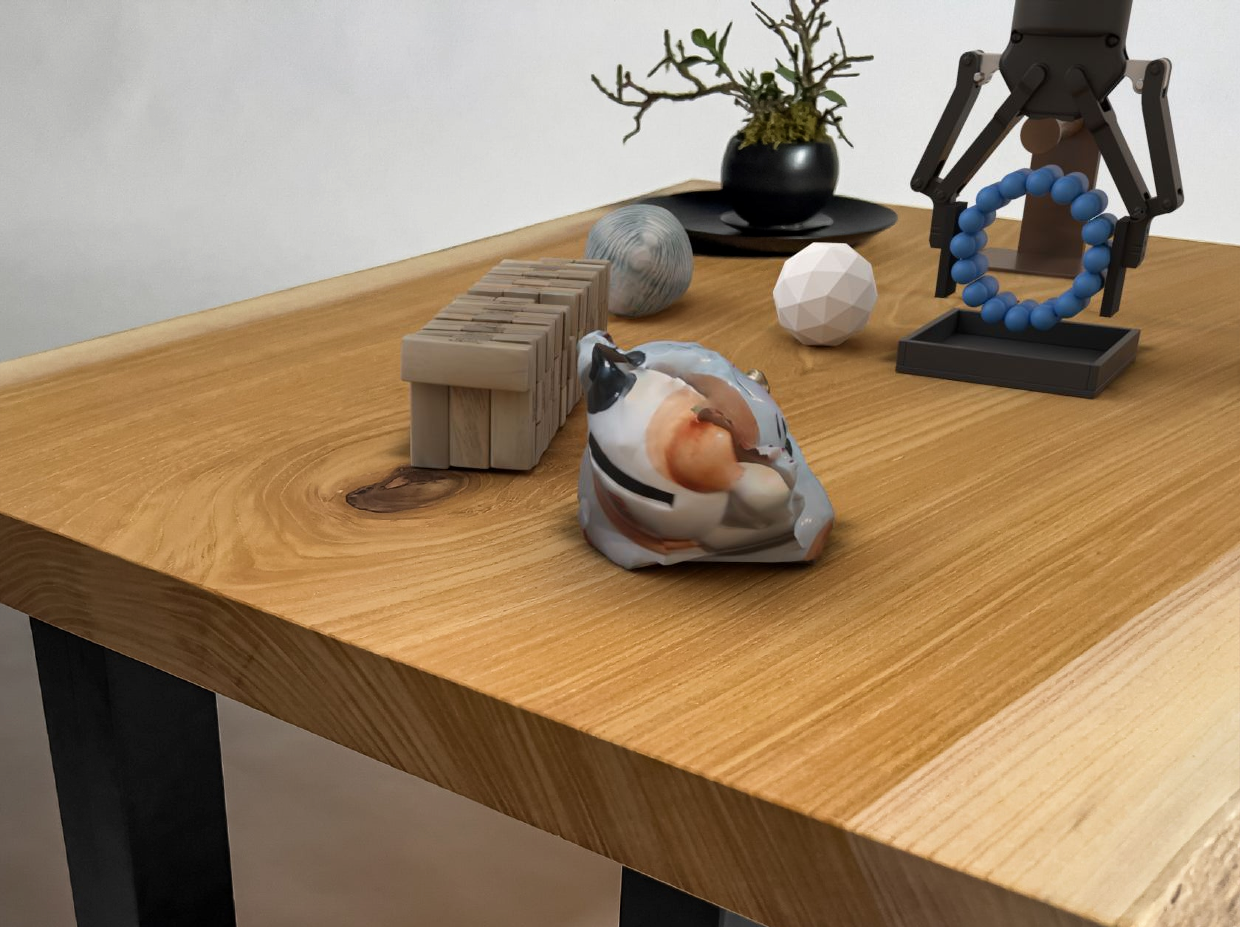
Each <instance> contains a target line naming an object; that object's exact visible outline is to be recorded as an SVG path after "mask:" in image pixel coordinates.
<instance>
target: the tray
mask: <svg viewBox="0 0 1240 927" xmlns="http://www.w3.org/2000/svg"><path fill="white" fill-rule="evenodd" d="M1004 320H1005V319H1004ZM1004 320H1002V321H1001V322H999V323H996V324H988V323H986V322H985V321H984V320H983V319H982V317H981V310H976V309H967V308H960V307H952V308H951V309H949V310H948V311H946V312H944V313H943V314H941V315H939V316H937V317H935V318H934V319H933V320H931V321H929V322H927V323H926V324H924V325H921V326H920V327H919V328H917V329H916V330H914V331H912V332H911V333H908V334H907V335H906V336H904V337H902V338H901V339H899V340H898V342H897V343H898V344H897V351H896V360H895V368H894V372H895V373H902V374H908V375H915V376H923V377H931V378H938V379H944V380H953V381H960V382H968V383H974V384H981V385H990V386H995V387H996V386H997V387H1004V388H1011V389H1019V390H1026V391H1033V392H1041V393H1048V394H1055V395H1063V396H1069V397H1070V396H1071V397H1075V398H1076V397H1077V398H1085V399H1092V400H1095V398H1096V397H1098V395H1100V394H1101V393H1102V392H1103V391H1104V390H1105V389H1106V388H1107V387H1108V386H1109V385H1110V384H1112V383H1113V381H1114V380H1115V379H1116V378H1118V377H1119V376H1120V375H1121V374H1122V373H1123V372H1124V371H1125V370H1126V369H1127V368H1128V367H1129V366H1130V365H1131V364H1133V363H1134V362H1135V361H1136V358H1137V353H1138V348H1139V342H1140V337H1141V331H1142V329H1141V328H1132V327H1124V326H1118V325H1117V326H1116V325H1109V324H1108V325H1107V324H1100V323H1098V324H1097V323H1090V322H1081V321H1073V320H1063V319H1062V320H1060V321H1059V322H1058V323H1056V324H1055V325H1054V326H1052V327H1051V328H1049V329H1047V330H1038V329H1036V328H1034V327H1033V326H1032V325H1030V326H1029V327H1028V328H1026V329H1025V330H1023V331H1021V332H1012V331H1010V330H1009V329H1008V328H1007V327H1006V325H1005V321H1004Z"/></svg>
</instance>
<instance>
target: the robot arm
mask: <svg viewBox="0 0 1240 927" xmlns="http://www.w3.org/2000/svg"><path fill="white" fill-rule="evenodd" d="M1133 2H1134V0H1015V1H1014V7H1013V13H1012V14H1013V15H1012V21H1011V26H1010V27H1011V28H1010V35H1009V40H1008V42H1007V45H1006V47H1005V48H1004V50H1003V51H1002V53H990V52H985V51H984V50H982V49H975V50H969V51H965V52H964V53H962V54H961V55H960V57H959V60H958V65H957V66H958V67H957V75H956V79H955V80H956V81H955V86H954V89H953V91H952V93H951V95H950V97H949V100H948V102H947V103H946V106H945V108H944V109H943V112H942V114H941V116H940V118H939V121H938V122H937V124H936V127H935V129H934V131H933V133H932V135H931V137H930V139H929V141H928V144H927V145H926V147H925V149H924V151H923V154H922V155H921V157H920V160H919V162H918V164H917V166H916V169H915V170H914V172H913V175H912V176H911V179H910V182H909V187H910V189H911V190H912V191H913V192H915V193H920V194H922V195H924V196H926V197H928V198H929V199H930V200H931V202H932V214H931V221H930V222H931V223H930V228H929V229H930V230H929V232H930V233H929V236H928V242H929V243H928V244H929V246H930V249H939V250H940V254H939V261H938V267H937V276H936V283H935V291H934V298H936V299H947V298H948V297H950V296H952V295H953V294H955V293H956V292H957V284H958V283H956V282H955V281H954V280H953V278H952V275H951V271H952V267H953V266H954V264H955V263H956V262H957V261H959V260H961V259H959V258H956V257H955V256H954V255H953V254H952V253H951V250H950V244H951V241H952V239H953V238H954V237H955V236H956V235H958V234H960V233H962V232H964V231H962V230H961V228H960V227H959V217H960V214H961V213H962V212H963V211H964V210H965V209H967V208H968V205H969V201H961V200H957V198H959V197H960V196H961V193H962V192H963V190H964V189H965V188H966V186H967V185H968V184H969V183H970V182H971V180H972V179H973V178H974V177H975V176H976V174H977V173H978V172H979V170H981V168H982V167H983V166H984V164H985V163H986V162H987V161H988V160H989V158H990V157H991V156H992V154H993V153H994V152H995V151H996V150H997V148H998V147H999V146H1000V145H1001V144H1002V142H1003V141H1004V140H1005V139H1006V138H1007V136H1008V135H1009V134H1010V133H1011V132H1012V130H1014V128H1015V127H1016V125H1018V124H1019V123H1020V122H1021V121H1022V120H1023V118H1024V117H1027V119H1033V120H1041V119H1046V118H1051V117H1052V118H1055V119H1057V120H1060V121H1065V122H1075V121H1078V120H1081V119H1083V120H1084V122H1085V124H1086V127H1087V129H1088V130H1089V132H1090V133H1091V134H1092V135H1093V137H1094V139H1095V142H1096V144H1097V146H1098V148H1099V150H1100V152H1101V158H1102V159H1103V161H1104V163H1105V165H1106V168H1107V170H1108V172H1109V174H1110V177H1111V179H1112V180H1113V183H1114V185H1115V187H1116V189H1117V191H1118V194H1119V196H1120V199H1121V200H1122V202H1123V204H1124V206H1125V209H1126V212H1127V214H1128V215H1124V216H1122V217H1121V218H1118V220H1117V221H1116V226H1115V232H1114V236H1113V237H1112V241H1113V243H1112V248H1111V254H1110V262H1109V265H1108V269H1107V276H1106V282H1105V287H1104V288H1103V292H1102V293H1103V294H1102V299H1101V305H1100V309H1099V314H1098V317H1100V318H1107V319H1108V318H1109V319H1111V318H1112V317H1114V315H1115V314H1117V313H1118V312H1119V311H1120V307H1121V301H1122V297H1123V296H1122V295H1123V291H1124V285H1125V280H1126V274H1127V269H1134V270H1135V269H1137V268H1139V267H1140V266H1141V265H1142V263H1143V262H1144V260H1145V256H1146V252H1147V246H1148V240H1149V235H1150V229H1151V225H1152V222H1153V220H1154V219H1155V217H1158V216H1163V215H1166V214H1171V213H1173V212H1175V211H1177V210H1178V209H1180V208H1181V207H1182V206H1183V205H1184V202H1185V192H1184V187H1183V181H1182V176H1181V175H1182V174H1181V169H1180V164H1179V158H1178V152H1177V151H1178V150H1177V146H1176V140H1175V134H1174V127H1173V123H1172V122H1173V121H1172V117H1171V116H1172V115H1171V110H1170V104H1169V98H1168V92H1169V86H1170V81H1171V74H1172V70H1173V63H1172V61H1171V60H1170V58H1168V57H1160V58H1156V59H1153V60H1152V59H1130V57H1129V55H1128V51H1127V36H1128V31H1129V26H1130V20H1131V13H1132V8H1133V4H1134V3H1133ZM997 71H999V73H1000V75H1001V77H1002V78H1003V81H1004V83H1005V85H1006V87H1007V89H1008V91H1009V93H1010V94H1009V95H1008V96H1007V97H1006V99H1005V100H1004V101H1003V102H1002V104H1001V105H1000V106H999V108H997V110H996V111H995V112H994V114H993V116H992V118H991V119H990V120H989V121H988V123H987V124H986V126H985V127H984V128H983V129H982V131H981V132H980V133H979V134H978V136H977V137H976V138H975V139H974V140H973V141H972V142H971V144H970V145H969V147H968V148H967V149H966V150H965V152H964V153H963V154H962V155H961V157H960V158H959V159H958V160H957V161H956V163H955V164H954V165H953V166H952V168H950V170H949V171H948V173H947V174H946V175H945V177H943V178H942V177H940V176H941V173H942V171H943V169H944V167H945V165H946V163H947V161H948V159H949V157H950V155H951V153H952V150H953V149H954V147H955V144H956V143H957V141H958V139H959V136H960V134H961V133H962V130H963V128H964V126H965V125H966V122H967V120H968V118H969V116H970V114H971V112H972V110H973V108H974V106H975V103H976V102H977V99H978V97H979V95H980V93H981V90H982V87H983V86H985V85H988V84H989V83H990V82H991V81H992V78H993V76H994V74H995V73H996V72H997ZM1125 77H1126V78H1129V80H1130V81H1131V83H1132V91H1134V92H1135V93H1136V95H1137V94H1138V95H1141V96H1140V98H1141V99H1140V104H1141V112H1142V118H1143V124H1144V130H1145V135H1146V136H1145V137H1146V141H1147V147H1148V153H1149V159H1150V164H1151V170H1152V171H1151V172H1152V176H1153V182H1154V187H1155V194H1156V195H1155V196H1152V195H1151V192H1150V191H1149V188H1148V186H1147V184H1146V181H1145V180H1144V177H1143V175H1142V173H1141V171H1140V169H1139V166H1138V164H1137V162H1136V160H1135V157H1134V155H1133V153H1132V151H1131V149H1130V147H1129V144H1128V143H1127V140H1126V138H1125V136H1124V133H1123V131H1122V129H1121V127H1120V124H1119V123H1118V117H1117V113H1116V111H1115V109H1114V107H1113V105H1112V103H1111V101H1110V99H1109V96H1110V94H1111V93H1112V92H1113V91H1114V90H1115V89H1116V88H1117V87H1118V86H1119V84H1120V83H1121V82H1122V81H1123V80H1124V79H1125Z"/></svg>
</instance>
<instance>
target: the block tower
mask: <svg viewBox="0 0 1240 927" xmlns="http://www.w3.org/2000/svg"><path fill="white" fill-rule="evenodd" d="M610 269H611V261H609V260H598V259H585V258H577V259H573V258H561V257H545V256H544V257H541V258H539V259H538V260H524V259H511V258H510V259H509V258H504V259H502V260H501V261H500V263H499V264H497V265H496V266H495V265H494V266H493V267H492V268H491V269H490V270H489V271H488V272H486V274H484V275H483V276H482V277H481V279H479V280H478V281H476V282H475V283H473V284H472V285H471V287H469V288H468V289H466V294H459V295H457V296H455V299H454V300H453V301H452V302H451V303H450V304H447V305H446V306H444V307H442V308H441V309H440V310H439V311H438V313H436V314H435V315H433V318H432V319H431V320H429V321H428V322H427V324H425V325H423V326H422V327H421V329H420V330H418V331H416V332H415V333H407V334H405V335H403V337H402V338H401V342H400V380H401V382H408V383H409V439H410V441H409V443H410V444H409V445H410V446H409V447H410V450H409V452H410V466H411V467H413V468H427V469H441V470H447V469H450V467H451V466H452V467H457V468H466V469H467V468H470V469H484V470H488V469H491V468H494V469H503V470H514V471H515V470H517V471H518V470H519V471H530V470H532V468H533V467H536V466H537V465H538V463H539V462H540V460H541V457H542V455H543V453H544V452H545V451H546V450H547V449H549V448H548V447H549V444H550V443H551V442H552V440H553V438H554V437H555V436H556V433H557V431H558V429H559V427H560V428H561V427H563V426H564V425H565V423H566V420H567V416H568V415H570V413H571V412H572V410H573V408H574V407H575V405H576V404H578V402H580V399H581V398H582V396H583V395H584V393H583V386H582V384H581V381H580V379H579V375H578V367H577V366H578V358H579V354H578V352H577V344H578V341H579V340H581V339H582V338H583V337H585V336H586V335H588V334H590V333H593V332H595V331H598V330H600V331H603V332H608V320H609V313H608V306H609V288H610Z"/></svg>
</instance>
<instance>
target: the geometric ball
mask: <svg viewBox="0 0 1240 927" xmlns="http://www.w3.org/2000/svg"><path fill="white" fill-rule="evenodd" d="M781 268H782V269H781V270H780V273H779V276H778V278H777V281H776V283H775V286H774V289H773V291H772V296H773V301H774V305H775V309H776V315H777V318H778V323H779V325H780V326H781V327H782V328H783V329H784V330H786V331H787V332H788V333H789V334H790V335H792V336H793V337H794V338H795V339H796V340H798V341H799V342H800V343H801V344H802V345H804V346H817V347H818V346H819V347H820V346H821V347H838V346H839V345H841V344H843V343H844V342H846V341H847V340H849V339H850V338H852V337H854V335H855V336H856V335H857V334H858V333H859V332H861V331H863V330H864V329H865V328H866V326H867V325H868V322H869V319H870V317H871V315H872V313H873V310H874V307H875V305H876V303H877V300H878V298H879V294H878V289H877V286H876V281H875V276H874V271H873V266H872V264H871V263H870V262H869V261H868V259H866V258H864V257H863V256H862V255H861V254H860V253H859V252H857V251H856V250H855V249H854V248H852V247H851V246H850V245H849V244H848V243H842V242H840V243H839V242H812V243H811V244H809V245H808V246H806V247H804V248H803V249H801V250H800V251H799V252H797V253H796V254H794V255H792V256H791V257H789V258H788V259H787V260H785V261H784V263H783V266H782V267H781Z"/></svg>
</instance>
